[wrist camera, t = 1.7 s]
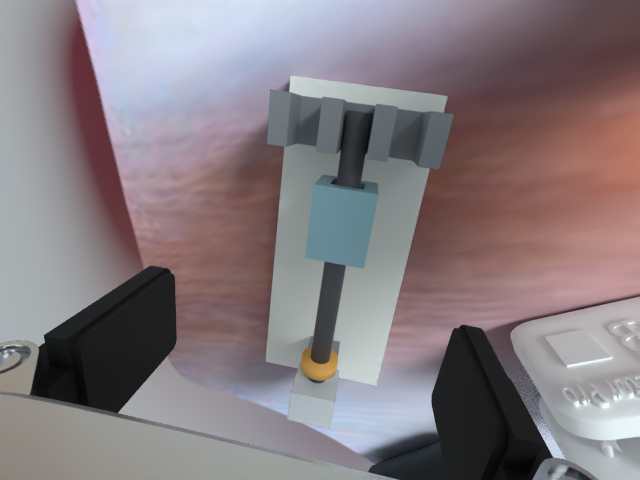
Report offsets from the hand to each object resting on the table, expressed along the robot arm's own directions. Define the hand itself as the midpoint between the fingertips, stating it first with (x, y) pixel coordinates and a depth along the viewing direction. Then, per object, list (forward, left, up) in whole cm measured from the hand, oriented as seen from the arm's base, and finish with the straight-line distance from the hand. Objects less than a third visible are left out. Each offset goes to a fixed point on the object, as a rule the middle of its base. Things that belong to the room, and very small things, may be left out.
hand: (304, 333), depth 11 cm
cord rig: (+5, 0, -20) cm, 21 cm away
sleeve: (0, 0, -15) cm, 15 cm away
